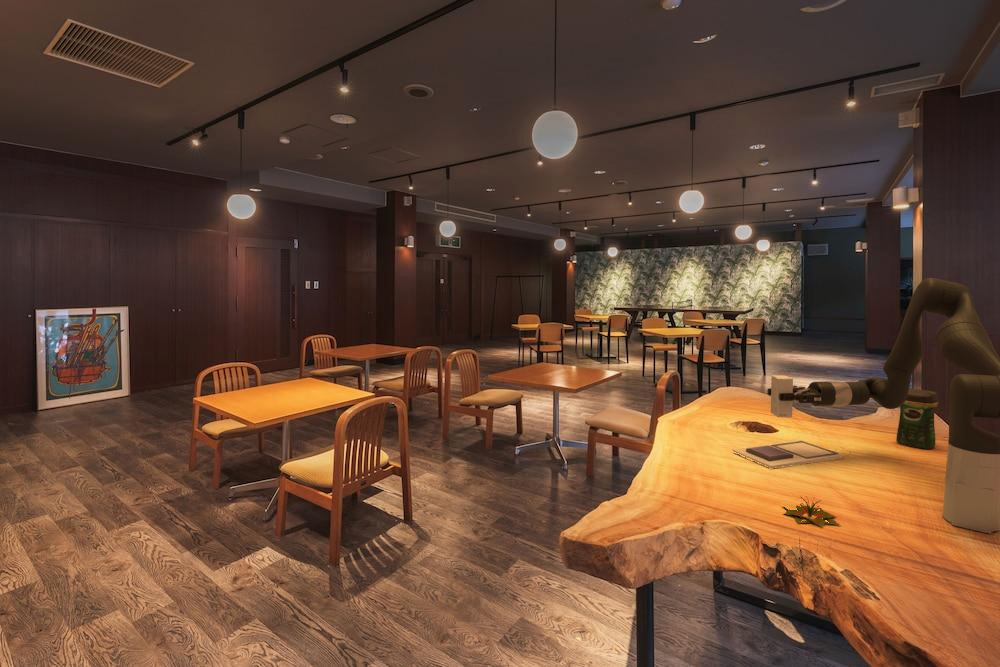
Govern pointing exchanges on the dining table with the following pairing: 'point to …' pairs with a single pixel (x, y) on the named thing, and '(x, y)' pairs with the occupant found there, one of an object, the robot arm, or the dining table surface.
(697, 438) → the dining table surface
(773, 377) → the skincare box
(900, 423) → the coffee jar
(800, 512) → the green leafy piece
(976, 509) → the robot arm
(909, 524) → the dining table surface
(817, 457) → the board
